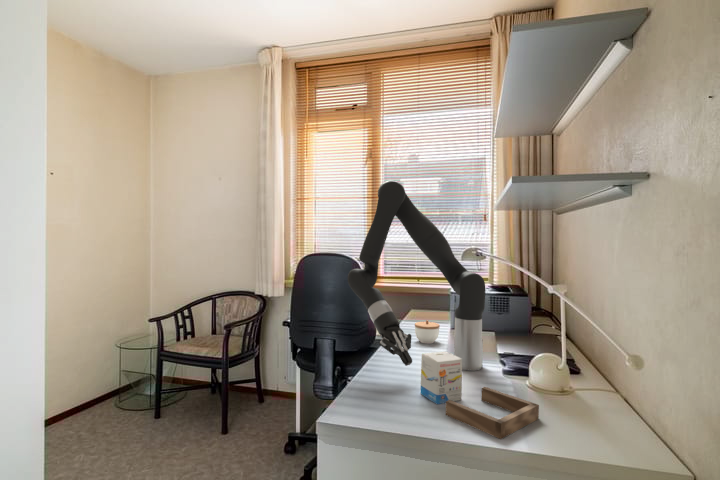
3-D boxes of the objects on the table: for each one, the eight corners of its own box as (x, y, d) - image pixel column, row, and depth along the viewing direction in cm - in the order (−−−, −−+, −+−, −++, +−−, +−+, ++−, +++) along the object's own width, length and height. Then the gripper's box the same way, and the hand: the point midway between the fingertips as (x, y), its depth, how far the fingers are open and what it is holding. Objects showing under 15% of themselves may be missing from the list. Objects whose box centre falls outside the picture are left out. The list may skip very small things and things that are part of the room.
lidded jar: (432, 338, 182) (432, 317, 182) (443, 344, 172) (444, 322, 172) (410, 339, 179) (410, 318, 179) (420, 345, 169) (420, 323, 169)
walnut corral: (484, 399, 113) (484, 386, 113) (538, 418, 100) (538, 404, 100) (445, 415, 102) (445, 401, 102) (500, 439, 90) (501, 423, 90)
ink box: (436, 404, 108) (437, 361, 108) (419, 393, 116) (420, 353, 116) (462, 400, 112) (463, 358, 112) (444, 389, 119) (445, 350, 119)
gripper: (373, 312, 127) (400, 361, 117) (403, 308, 135) (430, 354, 125) (362, 326, 131) (387, 374, 121) (392, 322, 139) (417, 366, 129)
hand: (409, 363), depth 123 cm, fingers closed
